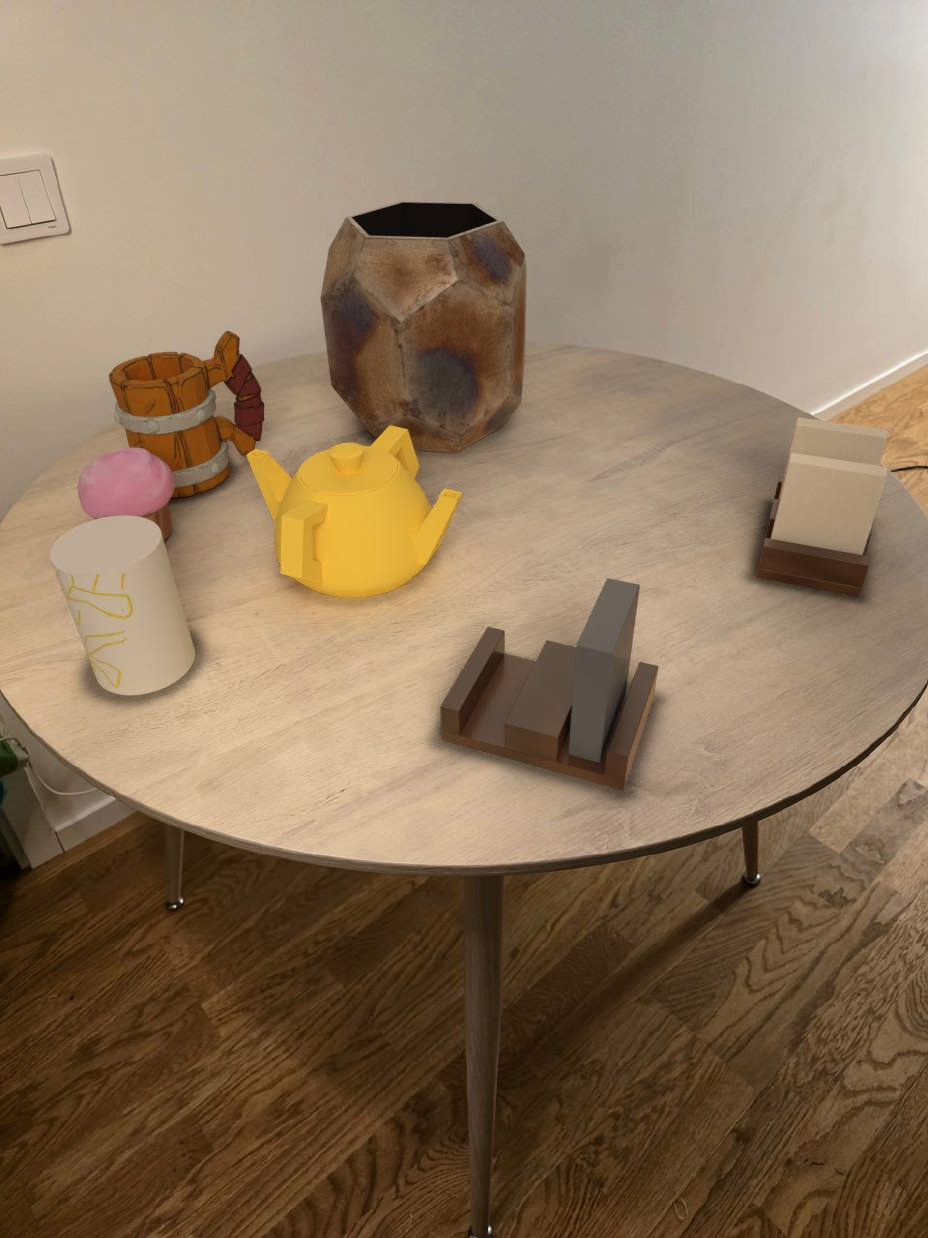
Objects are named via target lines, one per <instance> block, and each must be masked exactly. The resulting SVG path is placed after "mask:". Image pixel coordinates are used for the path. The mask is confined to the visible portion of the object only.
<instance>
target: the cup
mask: <svg viewBox="0 0 928 1238" xmlns="http://www.w3.org/2000/svg"><path fill="white" fill-rule="evenodd" d="M49 560H50V564H51V565H52V568H53V571H54V573H55V576H56V578H57V581H58V583H59V586H60V588H61V591H62V593H63V596H64V599H65V601H66V604H67V606H68V609H69V612H70V614H71V617H72V619H73V622H74V625H75V627H76V629H77V632H78V635H79V639H80V640H81V642H82V646H83V648H84V650H85V653H86V655H87V658H88V661H89V663H90V665H91V668H92V671H93V673H94V676H95V679H96V681H97V683H98V684H99V685H100V687H101V688H103V689H104V690H106V691H107V692H109V693H112V694H115V695H120V696H140V695H147V694H151V693H154V692H155V693H156V692H158V691H161V690H163V689H165V688H167V687H170V686H171V685H173V684H174V683H176V682H178V681H179V680H180V679H181V678H183V677H184V676H185V675H186V674H187V673H188V672H189V671H190V669H191V667H192V666H193V664H194V662H195V658H196V650H195V646H194V643H193V638H192V636H191V633H190V629H189V626H188V622H187V618H186V615H185V611H184V607H183V604H182V600H181V597H180V593H179V590H178V587H177V583H176V580H175V576H174V573H173V569H172V566H171V562H170V559H169V555H168V551H167V548H166V544H165V540H163V537H162V533H161V530H160V528H159V527H158V525H157V524H155V523H154V522H153V521H151V520H148V519H146V518H142V517H138V516H127V515H122V516H110V517H104V518H100V519H96V520H95V519H92V520H88V521H87V522H84V523H81V524H79V525H77V526H75V527H72V528H71V529H69V530H67V531H66V532H64V533H63V534H62V535H61V536H60V537H58V538H57V539H56V540H55V542H54V543H53V544H52V546H51V547H50V550H49Z"/></svg>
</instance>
